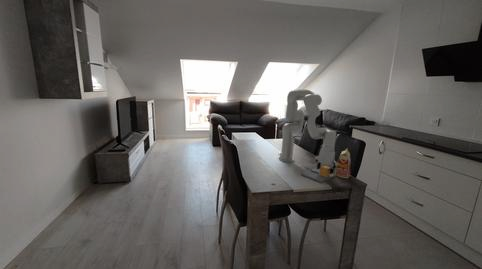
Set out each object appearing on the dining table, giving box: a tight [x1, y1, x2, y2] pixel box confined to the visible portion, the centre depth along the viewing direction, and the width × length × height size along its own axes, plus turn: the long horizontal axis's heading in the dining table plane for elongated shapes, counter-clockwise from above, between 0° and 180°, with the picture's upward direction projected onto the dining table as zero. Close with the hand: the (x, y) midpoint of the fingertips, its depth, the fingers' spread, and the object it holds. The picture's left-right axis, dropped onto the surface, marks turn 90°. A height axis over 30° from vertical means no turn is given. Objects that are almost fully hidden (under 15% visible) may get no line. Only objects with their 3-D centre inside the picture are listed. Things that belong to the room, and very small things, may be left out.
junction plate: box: [300, 167, 336, 184], centre depth 162 cm, size 16×18×6 cm
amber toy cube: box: [319, 165, 331, 177], centre depth 161 cm, size 5×5×6 cm
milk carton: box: [333, 148, 351, 179], centre depth 164 cm, size 9×9×20 cm
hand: (324, 171), depth 161 cm, fingers open, 9 cm apart
